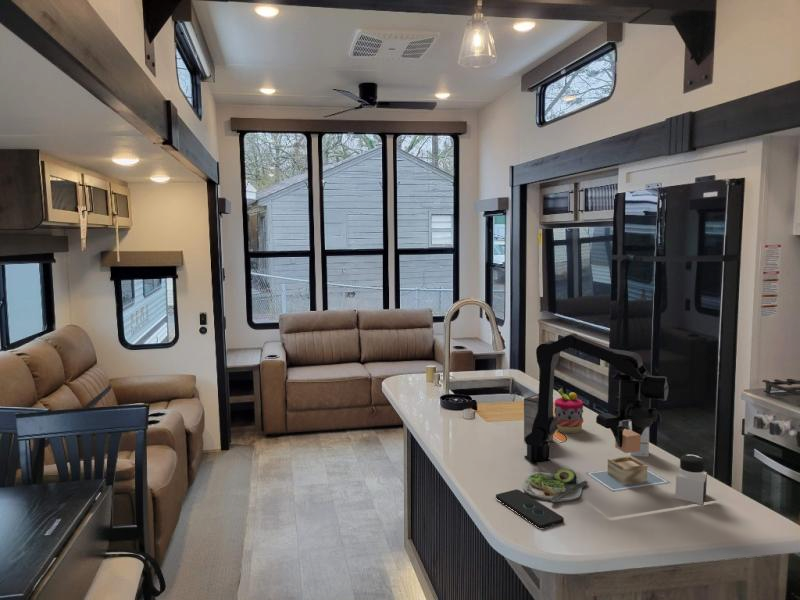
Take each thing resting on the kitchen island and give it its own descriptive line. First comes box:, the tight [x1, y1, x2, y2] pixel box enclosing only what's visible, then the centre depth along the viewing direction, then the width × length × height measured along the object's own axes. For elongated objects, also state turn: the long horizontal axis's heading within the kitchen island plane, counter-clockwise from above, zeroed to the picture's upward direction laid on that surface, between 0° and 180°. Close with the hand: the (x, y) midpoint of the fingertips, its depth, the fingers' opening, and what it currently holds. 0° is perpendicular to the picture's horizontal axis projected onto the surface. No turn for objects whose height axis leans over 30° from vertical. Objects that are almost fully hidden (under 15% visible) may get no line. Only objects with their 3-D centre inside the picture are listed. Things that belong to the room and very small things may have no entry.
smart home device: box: [495, 489, 565, 529], centre depth 163 cm, size 8×2×20 cm
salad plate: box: [522, 468, 589, 503], centre depth 174 cm, size 19×18×5 cm
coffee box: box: [523, 393, 554, 443], centre depth 214 cm, size 9×6×16 cm
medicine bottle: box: [674, 454, 708, 506], centre depth 167 cm, size 7×7×12 cm
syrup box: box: [628, 421, 650, 458], centre depth 200 cm, size 6×6×14 cm
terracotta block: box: [614, 429, 641, 454], centre depth 180 cm, size 5×5×5 cm
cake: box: [553, 388, 584, 434], centre depth 226 cm, size 10×11×15 cm
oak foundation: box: [607, 455, 649, 485], centre depth 181 cm, size 8×8×5 cm
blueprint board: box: [584, 469, 672, 493], centre depth 181 cm, size 20×14×1 cm
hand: (627, 446), depth 180 cm, fingers closed on terracotta block, 5 cm apart
